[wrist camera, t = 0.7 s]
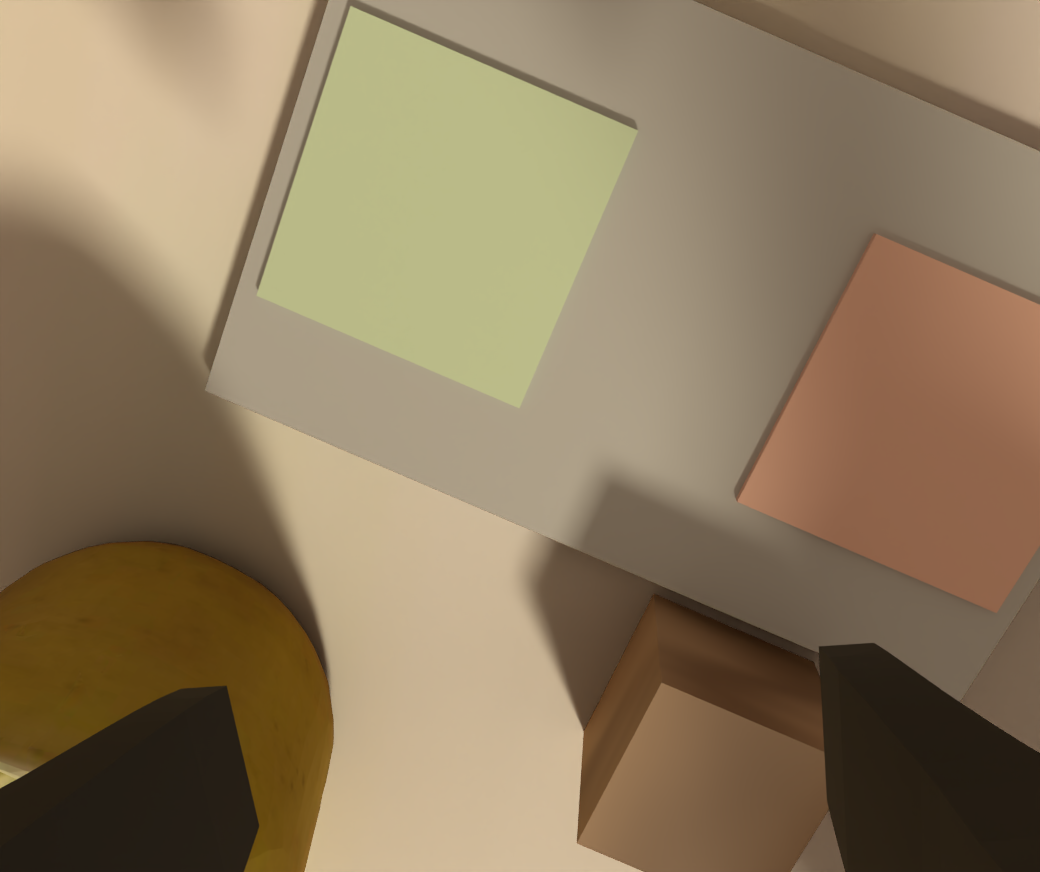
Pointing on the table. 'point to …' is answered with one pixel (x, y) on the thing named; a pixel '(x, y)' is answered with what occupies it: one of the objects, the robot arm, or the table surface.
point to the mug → (167, 671)
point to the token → (703, 751)
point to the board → (666, 309)
